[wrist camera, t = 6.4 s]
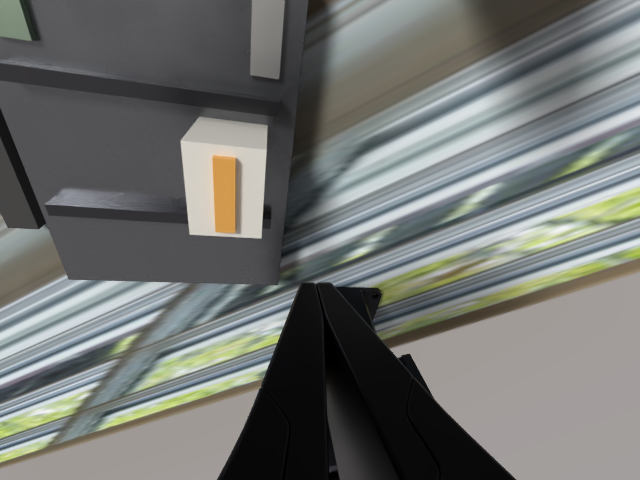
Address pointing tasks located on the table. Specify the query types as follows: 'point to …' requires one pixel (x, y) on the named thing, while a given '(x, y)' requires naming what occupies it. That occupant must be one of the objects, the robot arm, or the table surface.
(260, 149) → the breaker lever
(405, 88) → the table surface
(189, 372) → the table surface
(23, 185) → the dark grey bar
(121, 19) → the panel
